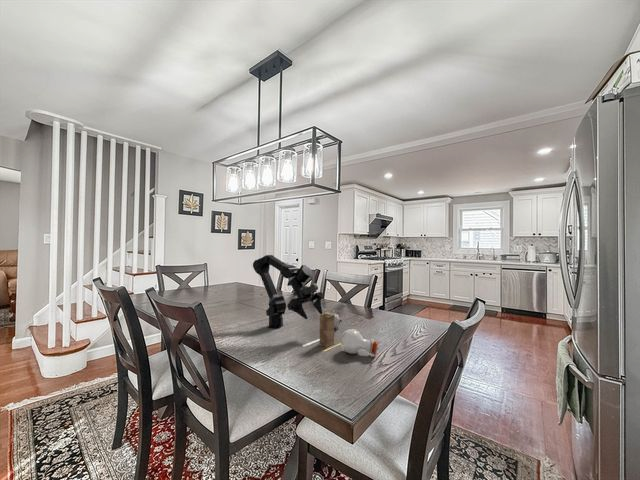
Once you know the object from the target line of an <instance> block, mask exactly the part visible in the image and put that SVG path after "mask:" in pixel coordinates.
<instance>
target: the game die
mask: <svg viewBox="0 0 640 480" xmlns="http://www.w3.org/2000/svg"><path fill="white" fill-rule="evenodd" d="M328 313H331V312H330V311H329V312H328ZM331 314H334V315H335V316H334V329H338V330H340V329H339V326H340V324H341V323H342V319H341V318H340V316H339V314H340V312H337V313H331Z"/></svg>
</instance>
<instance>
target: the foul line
mask: <svg viewBox="0 0 640 480" xmlns="http://www.w3.org/2000/svg"><path fill="white" fill-rule="evenodd" d="M318 342H320V338H317V339H315V340H313V341H310V342H308V343H304V344H302V345H301V346H302V347H303V348H305V347H307V346H309V345H313V344H315V343H318Z"/></svg>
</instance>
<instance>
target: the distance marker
mask: <svg viewBox="0 0 640 480" xmlns="http://www.w3.org/2000/svg"><path fill="white" fill-rule="evenodd" d="M338 346H341V342H339V343H337V344H334V345H332V346H329V348H328V347H327V348H326V349H323V350H322V352H325V353H326V351H329V350H331V349H334V348H337V347H338Z"/></svg>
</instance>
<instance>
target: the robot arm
mask: <svg viewBox="0 0 640 480" xmlns="http://www.w3.org/2000/svg"><path fill="white" fill-rule="evenodd" d="M270 266H271V267H272V268H275V270H278V271H279V272H280V275H281V276H282V277H283V278H284V279H288V281H287V284H286V285H287V287H289V286H291V288H292V290H293V292H294V293H293V295H294V297H295V296H296V297H295V298H292V299H290V300H289V302H288V303H287V302H286V300H285V297H284V296H283V295H279V294H278V290H277V289H276V286H275V284H274V281H273V278H272V277H271V274H270V268H271V267H270ZM252 267H253V271H255V273H256V274H258V275H259V277H260V279H261V281H262V284H263V286H264V288H265V291H266V293H267V296H268V299H269V301H268V308H267V310H266V311H265V313H266V314H265V315H266V316H268V325H267V328H271V329H280V328H281V327H283V326H284V318H283V315H285V314H286V309H288V311H291V312H294V313H296V314H297V315H299V316H301V318H303V319H305V320H308V316H307V315H308V314H306V312H305V309H304V307H303V304H305V303H308V302H311V303H312V306H313V307H314V308H315V309H316V311H317V312H318V313H319V315H321V314H323V309H322V299H323V297H324V293H323V292H321V291H318V290H319V287H318V285H317V284H316V283H315V282H314V283H312V284H311V285H310V286H307V285H305V283H306V282H307V281H308V280H309V279H310V278H311V277H312V276H313V270H312V269H311V268H310V267H309V266H307V265H306V264H302V265H300V268H298V267H297V266H295V265H293V264H288V263H285V262H284V261H282V260H280V259H279V258H278V257H275V256H274V255H273V254H267V255H263V257H260V258H258V259H255V260H254V261H253V262H252Z"/></svg>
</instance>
